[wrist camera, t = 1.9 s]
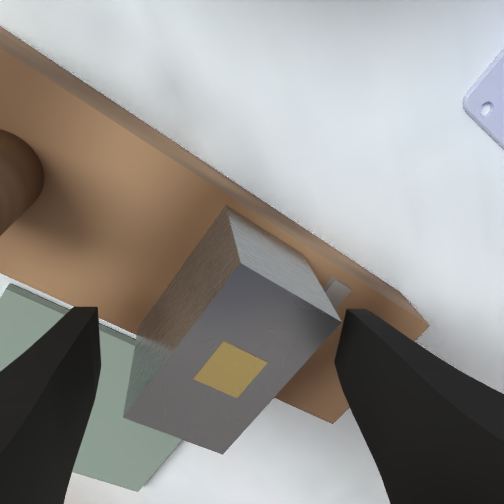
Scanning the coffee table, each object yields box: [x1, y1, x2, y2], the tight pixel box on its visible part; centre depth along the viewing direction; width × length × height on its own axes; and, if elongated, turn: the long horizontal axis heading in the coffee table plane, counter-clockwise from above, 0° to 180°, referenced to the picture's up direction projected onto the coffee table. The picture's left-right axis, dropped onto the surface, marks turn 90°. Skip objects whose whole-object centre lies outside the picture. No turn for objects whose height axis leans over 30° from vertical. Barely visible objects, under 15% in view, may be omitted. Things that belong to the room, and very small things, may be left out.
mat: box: [0, 284, 182, 492], centre depth 19 cm, size 10×8×1 cm
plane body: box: [0, 27, 430, 424], centre depth 14 cm, size 18×6×6 cm, turn 54°
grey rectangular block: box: [123, 205, 342, 454], centre depth 13 cm, size 3×5×4 cm, turn 144°
